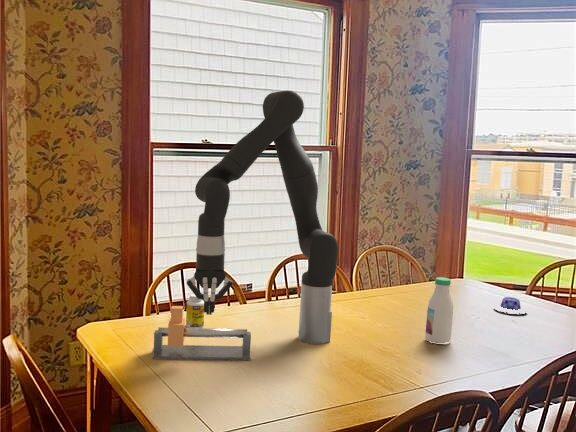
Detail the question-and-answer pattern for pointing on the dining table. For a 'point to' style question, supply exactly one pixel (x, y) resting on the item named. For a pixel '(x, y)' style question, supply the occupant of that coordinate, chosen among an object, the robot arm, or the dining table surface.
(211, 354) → the pipe stand
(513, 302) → the pudding
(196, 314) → the supplement bottle
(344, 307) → the dining table surface
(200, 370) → the dining table surface
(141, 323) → the dining table surface
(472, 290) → the dining table surface
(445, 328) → the milk bottle
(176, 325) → the collar
